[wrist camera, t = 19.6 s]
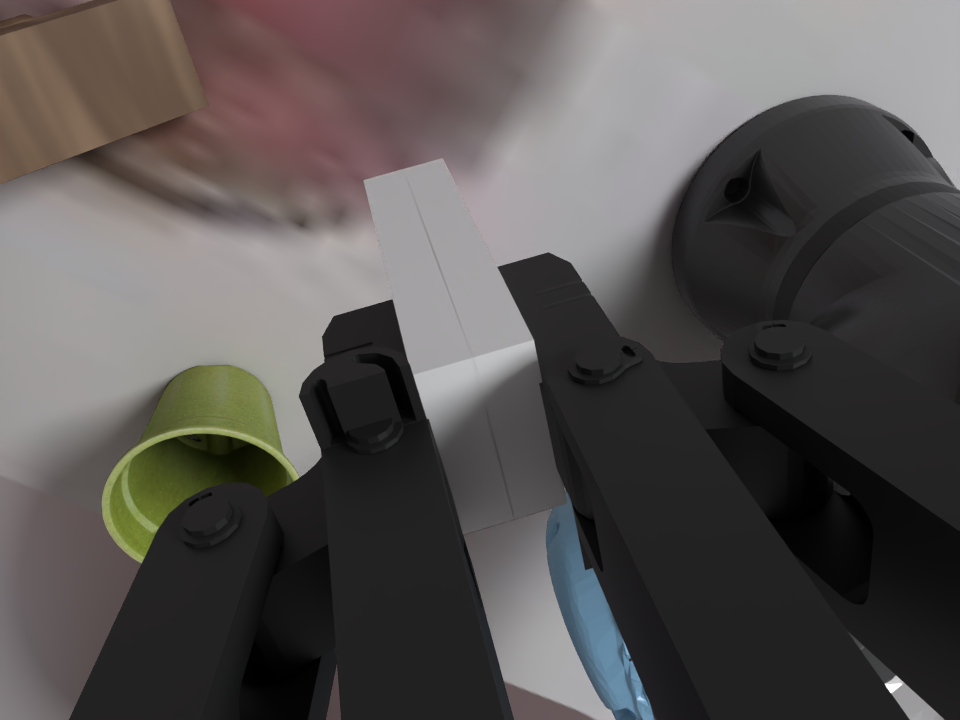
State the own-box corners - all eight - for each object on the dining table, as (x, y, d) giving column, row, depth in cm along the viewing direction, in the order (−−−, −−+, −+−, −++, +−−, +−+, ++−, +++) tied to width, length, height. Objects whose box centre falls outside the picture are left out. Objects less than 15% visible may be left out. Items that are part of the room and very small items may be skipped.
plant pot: (92, 415, 46) (57, 523, 39) (201, 303, 44) (187, 395, 37) (228, 495, 51) (221, 603, 44) (334, 397, 49) (344, 495, 42)
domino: (164, -14, 34) (-96, 64, 30) (209, 105, 37) (-23, 192, 33) (147, -16, 36) (-102, 58, 32) (191, 99, 39) (-32, 181, 34)
